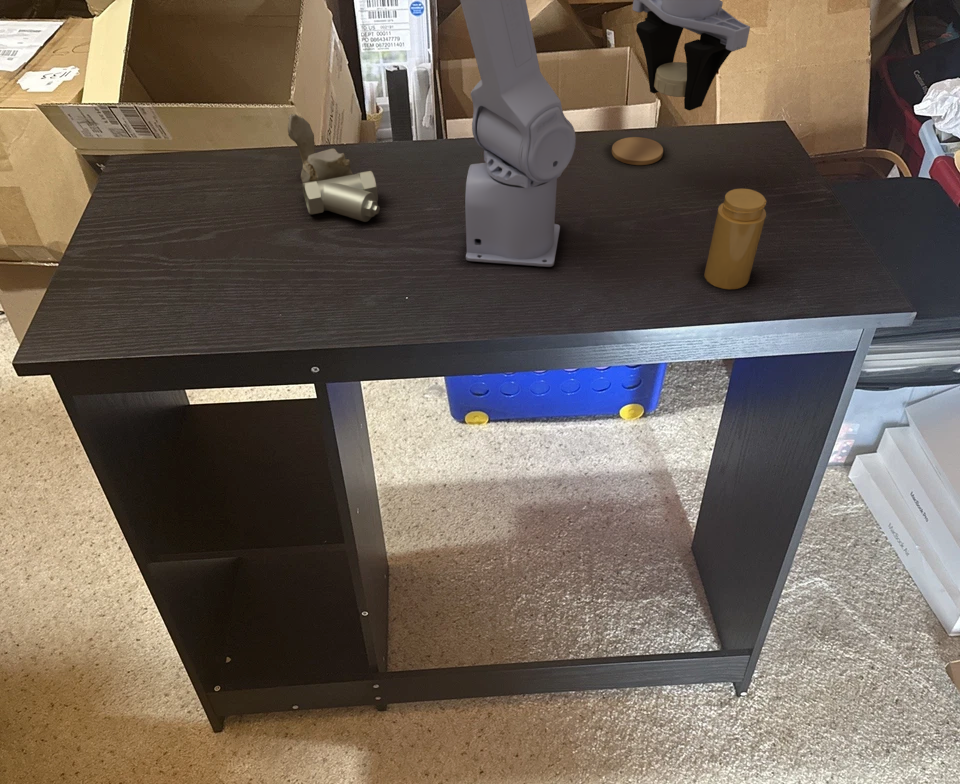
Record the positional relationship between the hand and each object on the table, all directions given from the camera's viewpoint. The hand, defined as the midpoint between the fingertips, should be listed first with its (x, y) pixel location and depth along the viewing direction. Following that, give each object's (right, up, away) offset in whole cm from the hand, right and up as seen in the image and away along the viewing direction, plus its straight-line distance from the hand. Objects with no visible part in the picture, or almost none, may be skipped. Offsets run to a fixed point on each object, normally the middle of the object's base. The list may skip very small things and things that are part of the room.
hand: (675, 98), depth 92 cm
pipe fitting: (-37, -11, +5) cm, 39 cm away
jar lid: (0, +2, -2) cm, 2 cm away
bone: (-40, -7, +9) cm, 42 cm away
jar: (+4, -21, -5) cm, 22 cm away
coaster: (-2, -1, +14) cm, 14 cm away
